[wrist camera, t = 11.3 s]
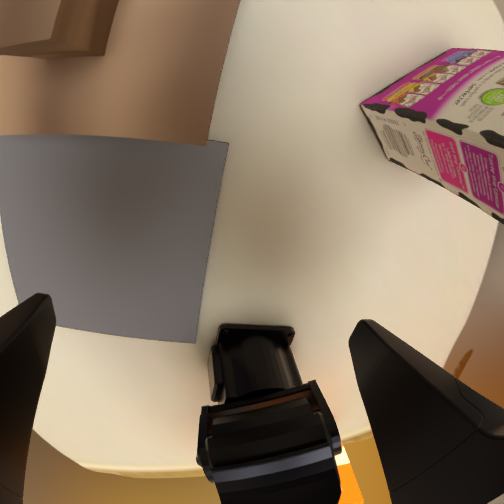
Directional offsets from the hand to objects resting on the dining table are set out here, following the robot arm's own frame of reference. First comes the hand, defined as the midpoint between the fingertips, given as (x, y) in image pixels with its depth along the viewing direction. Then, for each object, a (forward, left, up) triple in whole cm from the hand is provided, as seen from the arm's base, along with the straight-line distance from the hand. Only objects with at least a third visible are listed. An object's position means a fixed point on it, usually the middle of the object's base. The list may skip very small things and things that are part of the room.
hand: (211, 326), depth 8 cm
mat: (+7, +5, -12) cm, 15 cm away
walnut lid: (+7, -10, -8) cm, 14 cm away
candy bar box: (-14, -10, -12) cm, 21 cm away
